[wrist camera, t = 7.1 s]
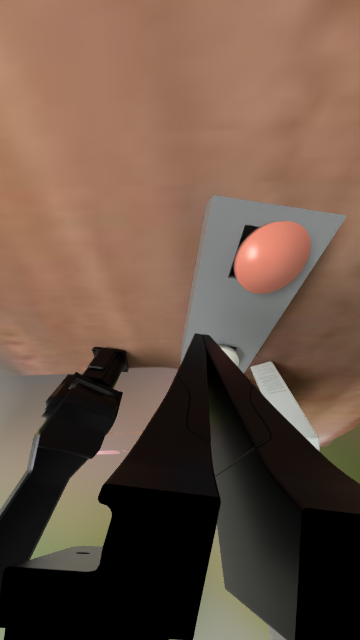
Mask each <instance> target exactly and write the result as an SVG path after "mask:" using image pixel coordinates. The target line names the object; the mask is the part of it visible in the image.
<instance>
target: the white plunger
mask: <svg viewBox="0 0 360 640" xmlns="http://www.w3.org/2000/svg"><path fill="white" fill-rule="evenodd" d="M219 346H220V347H221V349H222V350H223V351H224V352H225V353H226V354H227V355H228V356H229V358H230V359H231V360H232V361H233V362H234V363H235V364H236V365H237V366H238V364H239V358H238V356H237V353H236V351H235V350H234V349H232V348H230V347H227V346H225V345H219Z"/></svg>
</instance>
